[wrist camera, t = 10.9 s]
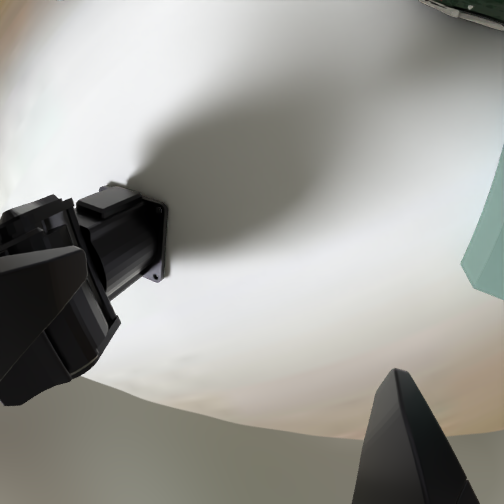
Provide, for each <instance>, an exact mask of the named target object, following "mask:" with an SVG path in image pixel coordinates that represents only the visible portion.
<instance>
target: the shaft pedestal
mask: <svg viewBox="0 0 504 504" xmlns="http://www.w3.org/2000/svg"><path fill="white" fill-rule="evenodd" d="M461 266H462V268H463V270H464V271H465V273H466V275H467V277H468V279H469V281H470V283H471V285H472V286H473V288H474V289H477V290H479V291H482V292H484V293H487V294H490V295H492V296H495V297H497V298H500V299H502V300H504V145H503V149H502V153H501V157H500V160H499V164H498V167H497V170H496V174H495V177H494V180H493V183H492V186H491V189H490V192H489V195H488V198H487V201H486V203H485V206H484V209H483V212H482V214H481V217H480V219H479V222H478V224H477V227H476V229H475V232H474V234H473V237H472V239H471V241H470V244H469V246H468V248H467V250H466V253H465V255H464V257H463V259H462V261H461Z"/></svg>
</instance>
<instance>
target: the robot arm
mask: <svg viewBox="0 0 504 504" xmlns="http://www.w3.org/2000/svg"><path fill="white" fill-rule="evenodd" d="M73 206H74V203H73V200H72V198H70V199H67V200H65V201H62V198H61V199H58V198H57V197H56V196H55V195H54V194H52V195H50V196H47V197H45V198H42V199H40V200H37V201H34V202H31V203H28V204H25V205H22V206H19V207H16V208H12V209H10V210H8V211H6V212H4V213H3V214H2V217H1V219H0V402H1V403H2V404H3V405H4V406H16V405H17V406H18V405H22V404H24V403H25V402H27V401H28V400H30V399H31V398H33V397H34V396H36V395H38V394H39V393H41V392H43V391H45V390H47V389H49V388H51V387H53V386H56V385H60V384H63V383H67V382H70V381H71V380H72V379H74V378H76V377H78V376H81V375H82V374H84V373H85V372H87V371H88V370H90V369H91V368H92V367H93V366H94V365H95V364H96V362H97V361H98V360H99V358H100V356H101V355H102V353H103V351H104V350H105V348H106V346H107V345H108V343H109V342H110V340H111V338H112V337H113V335H114V334H115V332H116V330H117V329H118V327H119V326H120V324H121V321H120V319H119V317H118V316H117V315H116V314H115V312H114V310H113V307H112V305H111V303H110V301H111V300H113V299H114V298H115V297H116V296H118V295H119V294H120V293H121V292H123V291H124V290H125V289H126V288H128V287H129V286H130V285H132V284H133V283H134V282H135V281H137V280H138V279H139V278H141V277H142V276H143V277H145V278H147V279H149V280H152V281H154V282H157V283H158V282H160V281H161V280H162V279H163V278H164V261H165V243H166V228H167V215H168V208H167V205H166V204H165V203H163V202H160V201H157V200H154V199H150V198H147V197H144V196H142V194H141V193H139V192H136V191H132V190H129V189H126V188H122V187H119V186H114V187H110V186H102V187H101V188H100V189H99V192H98V193H95V194H92V195H90V196H87V197H85V198H82V199H80V200H78V201H77V202H76V208H73ZM159 207H160V208H161V210H162V212H161V211H160V210H159ZM156 275H157V276H158V277H157V276H156ZM466 479H467V477H466V475H465V473H464V471H463V469H462V467H461V465H460V463H459V461H458V459H457V457H456V455H455V453H454V451H453V450H452V448H451V446H450V444H449V442H448V440H447V438H446V436H445V435H444V433H443V431H442V429H441V427H440V425H439V424H438V422H437V420H436V418H435V416H434V415H433V413H432V411H431V409H430V408H429V406H428V404H427V402H426V401H425V399H424V397H423V396H422V394H421V392H420V390H419V389H418V387H417V385H416V384H415V382H414V380H413V379H412V377H411V375H410V374H409V372H407V371H405V370H401V369H397V368H394V369H392V370H391V371H390V372H389V374H388V375H387V377H386V378H385V379H384V381H383V382H382V384H381V385H380V386H379V388H378V390H377V392H376V394H375V398H374V402H373V407H372V411H371V415H370V419H369V423H368V427H367V431H366V435H365V439H364V443H363V447H362V452H361V458H360V464H359V470H358V475H357V480H356V485H355V490H354V495H353V500H352V504H480V503H479V501H478V499H477V497H476V495H475V493H474V491H473V489H472V487H471V485H470V483H469V481H468V480H466Z"/></svg>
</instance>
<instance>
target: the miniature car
mask: <svg viewBox="0 0 504 504" xmlns="http://www.w3.org/2000/svg"><path fill="white" fill-rule="evenodd" d="M418 1H420V2H422V3H423V4H426V5H428V6H430V7H433V8H435V9H437V10H439V11H441V12H443V13H446V14H448V15H450V16H452V17H454V18H455V17H459V18H462V19H466V20H469V21H473V22H476V23H479V24H482V25H485V26H488V27H491V28H494V29H497V30H501V31H504V26H503V25H500V24H497V23H494V22H491V21H488V20H485V19H482V18H479V17H475V16H472V15H468V14H465V13H461V12H459V11H458V10H461V11H465V12H469V13H472V14H476V15H479V16H482V17H486V18H489V19H492V20H495V21H498V22H501V23H503V24H504V0H425V1H424V0H418ZM455 9H457V10H455Z"/></svg>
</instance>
